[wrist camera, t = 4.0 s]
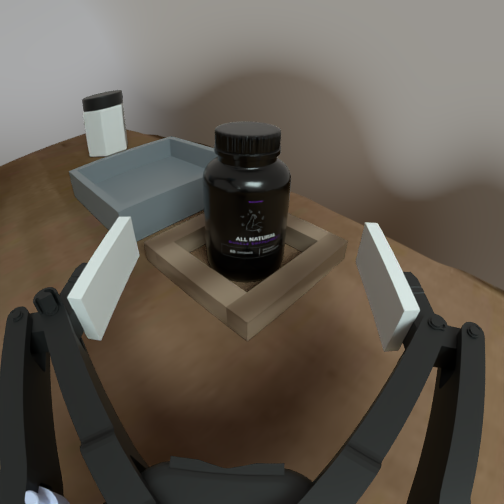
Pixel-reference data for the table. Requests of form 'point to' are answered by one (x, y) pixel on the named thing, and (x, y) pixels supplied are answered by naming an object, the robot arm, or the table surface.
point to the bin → (145, 184)
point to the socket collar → (230, 295)
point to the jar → (105, 123)
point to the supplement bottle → (246, 201)
